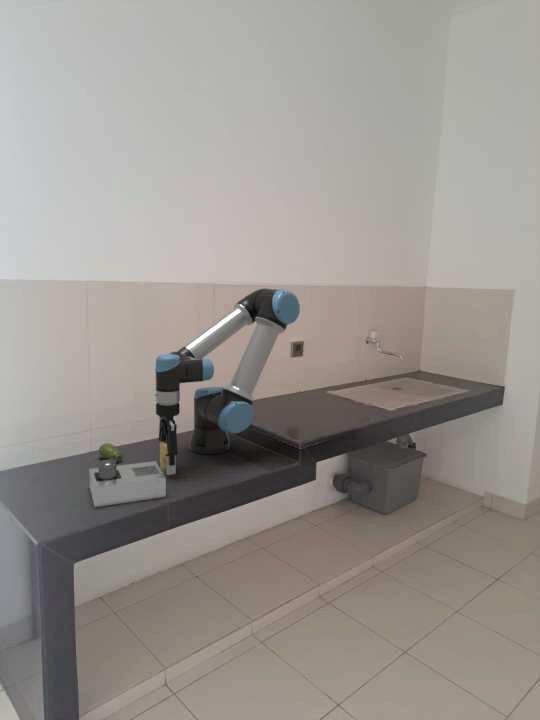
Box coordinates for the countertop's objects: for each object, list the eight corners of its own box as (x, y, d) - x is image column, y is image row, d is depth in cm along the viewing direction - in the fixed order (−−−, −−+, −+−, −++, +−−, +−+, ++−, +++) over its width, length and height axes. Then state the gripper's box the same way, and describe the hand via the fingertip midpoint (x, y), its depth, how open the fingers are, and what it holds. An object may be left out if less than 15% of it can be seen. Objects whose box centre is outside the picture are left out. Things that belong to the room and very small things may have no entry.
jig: (155, 479, 167) (155, 449, 165) (165, 496, 154) (165, 464, 153) (89, 487, 159) (88, 456, 157) (94, 507, 146) (93, 473, 145)
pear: (109, 439, 186) (127, 450, 181) (107, 453, 188) (125, 464, 182) (95, 443, 182) (114, 454, 177) (94, 457, 183) (112, 468, 178)
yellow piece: (173, 467, 177) (173, 439, 175) (177, 473, 172) (177, 444, 171) (158, 469, 175) (158, 441, 173) (161, 475, 170) (161, 445, 169)
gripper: (149, 395, 178) (149, 458, 182) (163, 412, 158) (163, 482, 162) (171, 394, 181) (171, 456, 185) (188, 410, 161) (187, 479, 165)
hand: (167, 468), depth 173 cm, fingers open, 9 cm apart
